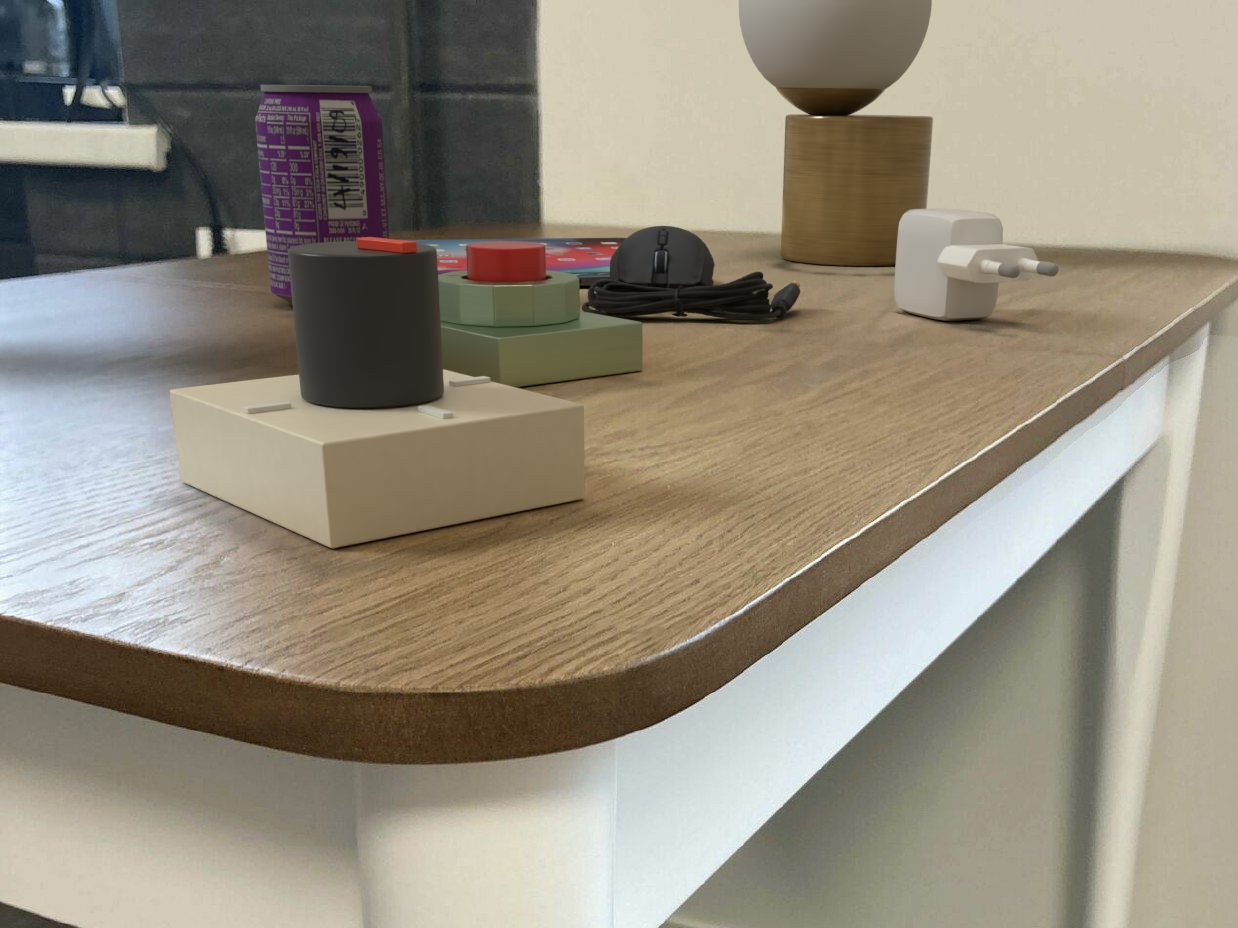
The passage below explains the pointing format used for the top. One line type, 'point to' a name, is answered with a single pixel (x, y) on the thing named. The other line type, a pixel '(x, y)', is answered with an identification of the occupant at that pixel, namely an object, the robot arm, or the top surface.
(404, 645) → the top surface
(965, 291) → the power adapter
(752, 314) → the computer mouse
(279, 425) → the control box
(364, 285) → the knob
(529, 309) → the switch block
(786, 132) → the lamp
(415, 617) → the top surface
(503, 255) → the power button
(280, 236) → the beverage can
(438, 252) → the tablet
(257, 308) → the top surface
